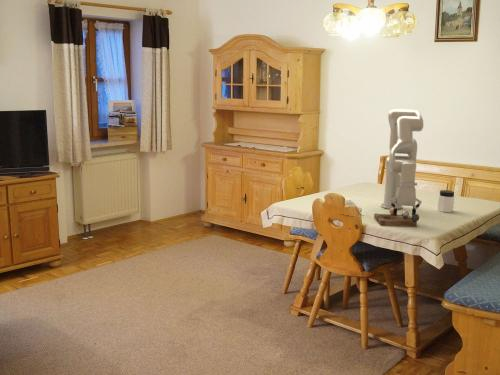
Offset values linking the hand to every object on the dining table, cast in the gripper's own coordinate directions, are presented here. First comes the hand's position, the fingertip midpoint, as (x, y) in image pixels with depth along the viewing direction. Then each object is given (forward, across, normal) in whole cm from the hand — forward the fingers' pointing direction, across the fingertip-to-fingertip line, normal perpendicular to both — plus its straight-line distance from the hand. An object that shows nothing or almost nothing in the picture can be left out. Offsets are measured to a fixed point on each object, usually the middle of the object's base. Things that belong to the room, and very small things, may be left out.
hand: (404, 215), depth 305 cm
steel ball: (-1, -1, 0) cm, 1 cm away
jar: (+4, -34, -32) cm, 47 cm away
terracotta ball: (-1, +4, -6) cm, 8 cm away
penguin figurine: (+4, +25, -17) cm, 31 cm away
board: (+4, +5, 0) cm, 6 cm away
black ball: (-1, -4, +6) cm, 8 cm away
